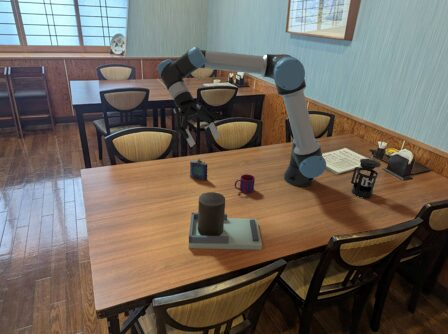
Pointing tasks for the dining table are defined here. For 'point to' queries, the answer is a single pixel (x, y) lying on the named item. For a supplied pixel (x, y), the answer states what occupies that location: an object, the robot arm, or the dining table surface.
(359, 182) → the french press
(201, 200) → the pillar candle
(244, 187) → the mug
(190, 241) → the deck plate
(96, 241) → the dining table surface
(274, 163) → the dining table surface
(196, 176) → the flask
